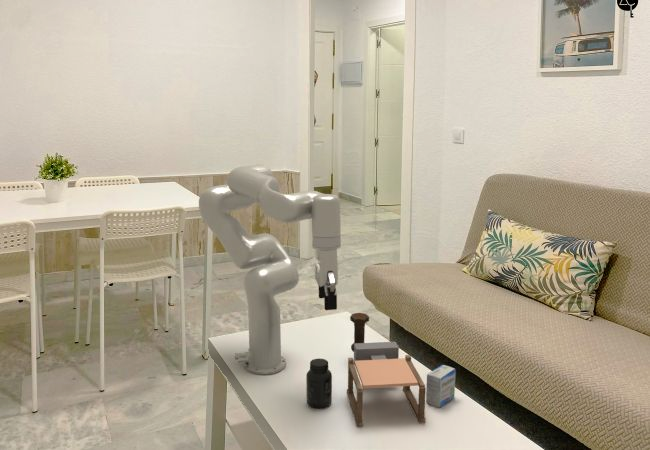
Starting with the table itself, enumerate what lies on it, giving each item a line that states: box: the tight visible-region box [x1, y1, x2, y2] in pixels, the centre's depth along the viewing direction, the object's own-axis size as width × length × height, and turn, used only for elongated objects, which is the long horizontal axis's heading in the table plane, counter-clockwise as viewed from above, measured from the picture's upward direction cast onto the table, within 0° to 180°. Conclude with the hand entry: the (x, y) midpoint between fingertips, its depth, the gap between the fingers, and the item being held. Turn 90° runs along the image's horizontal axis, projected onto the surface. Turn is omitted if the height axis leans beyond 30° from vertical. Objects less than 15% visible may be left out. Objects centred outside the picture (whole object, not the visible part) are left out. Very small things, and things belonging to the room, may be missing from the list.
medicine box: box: [425, 364, 457, 409], centre depth 162 cm, size 8×4×9 cm, turn 138°
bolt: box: [349, 312, 370, 353], centre depth 184 cm, size 6×5×15 cm
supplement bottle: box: [305, 357, 333, 410], centre depth 160 cm, size 7×7×12 cm
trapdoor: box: [353, 341, 419, 390], centre depth 160 cm, size 14×21×5 cm, turn 6°
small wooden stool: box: [346, 354, 427, 428], centre depth 158 cm, size 18×17×11 cm
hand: (327, 303), depth 160 cm, fingers open, 9 cm apart
